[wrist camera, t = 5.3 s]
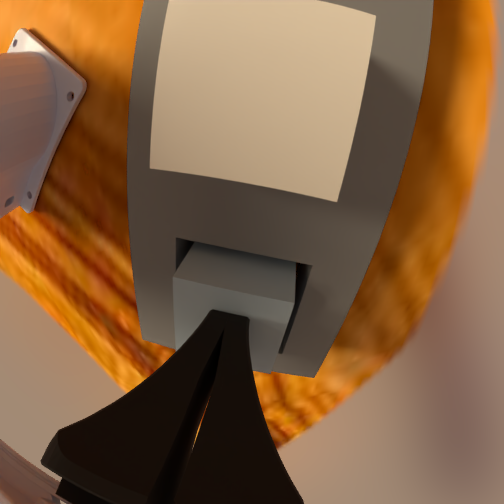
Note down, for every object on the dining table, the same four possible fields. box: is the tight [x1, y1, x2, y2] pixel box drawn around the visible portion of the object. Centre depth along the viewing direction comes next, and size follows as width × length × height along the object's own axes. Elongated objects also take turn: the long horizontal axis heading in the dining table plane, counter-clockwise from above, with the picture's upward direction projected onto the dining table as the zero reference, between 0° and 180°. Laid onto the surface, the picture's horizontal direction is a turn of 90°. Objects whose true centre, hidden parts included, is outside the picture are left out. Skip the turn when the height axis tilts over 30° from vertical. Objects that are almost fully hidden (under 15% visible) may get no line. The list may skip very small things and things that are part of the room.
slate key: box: [173, 241, 296, 374], centre depth 12 cm, size 4×4×4 cm
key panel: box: [127, 0, 434, 378], centre depth 9 cm, size 24×9×3 cm, turn 171°
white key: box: [150, 0, 376, 202], centre depth 7 cm, size 4×4×4 cm
